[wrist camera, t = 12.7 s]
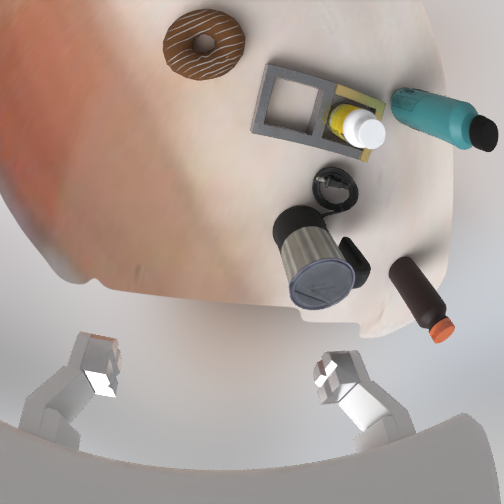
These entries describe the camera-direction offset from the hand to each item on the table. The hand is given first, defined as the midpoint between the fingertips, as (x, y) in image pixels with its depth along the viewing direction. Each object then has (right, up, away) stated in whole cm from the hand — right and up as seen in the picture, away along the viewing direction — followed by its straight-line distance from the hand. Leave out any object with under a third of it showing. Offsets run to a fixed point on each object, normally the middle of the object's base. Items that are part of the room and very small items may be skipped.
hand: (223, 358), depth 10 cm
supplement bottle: (+15, +24, +27) cm, 39 cm away
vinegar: (+34, 0, +46) cm, 58 cm away
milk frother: (+11, +11, +36) cm, 39 cm away
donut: (-5, +32, +19) cm, 38 cm away
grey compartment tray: (+11, +24, +26) cm, 37 cm away
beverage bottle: (+25, +28, +26) cm, 45 cm away
